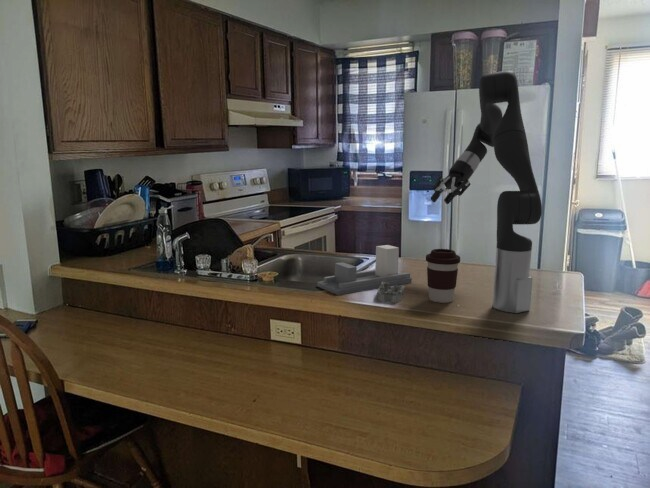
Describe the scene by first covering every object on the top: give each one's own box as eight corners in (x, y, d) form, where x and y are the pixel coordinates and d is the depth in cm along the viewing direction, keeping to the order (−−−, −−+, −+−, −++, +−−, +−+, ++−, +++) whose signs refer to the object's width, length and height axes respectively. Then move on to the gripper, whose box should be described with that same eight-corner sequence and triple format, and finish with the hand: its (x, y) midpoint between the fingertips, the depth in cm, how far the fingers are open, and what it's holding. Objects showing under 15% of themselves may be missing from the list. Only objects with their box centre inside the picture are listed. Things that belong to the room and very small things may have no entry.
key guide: (411, 282, 172) (411, 273, 172) (337, 295, 157) (337, 285, 156) (389, 274, 182) (389, 266, 182) (317, 286, 167) (317, 277, 166)
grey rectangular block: (359, 284, 163) (359, 266, 162) (348, 286, 161) (348, 268, 160) (345, 279, 170) (345, 261, 169) (334, 281, 168) (334, 263, 167)
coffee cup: (421, 294, 158) (423, 247, 155) (453, 295, 157) (456, 247, 155) (427, 304, 148) (429, 253, 145) (461, 305, 148) (464, 254, 145)
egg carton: (382, 292, 161) (382, 279, 161) (405, 294, 159) (406, 281, 158) (374, 301, 152) (374, 287, 151) (399, 303, 149) (400, 290, 148)
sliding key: (397, 276, 173) (398, 247, 171) (386, 278, 170) (387, 249, 168) (386, 273, 178) (387, 244, 176) (375, 274, 175) (376, 246, 173)
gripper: (445, 159, 187) (419, 192, 183) (475, 159, 175) (449, 196, 171) (454, 173, 191) (429, 206, 187) (485, 175, 179) (459, 210, 175)
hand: (439, 201), depth 179 cm, fingers open, 6 cm apart
